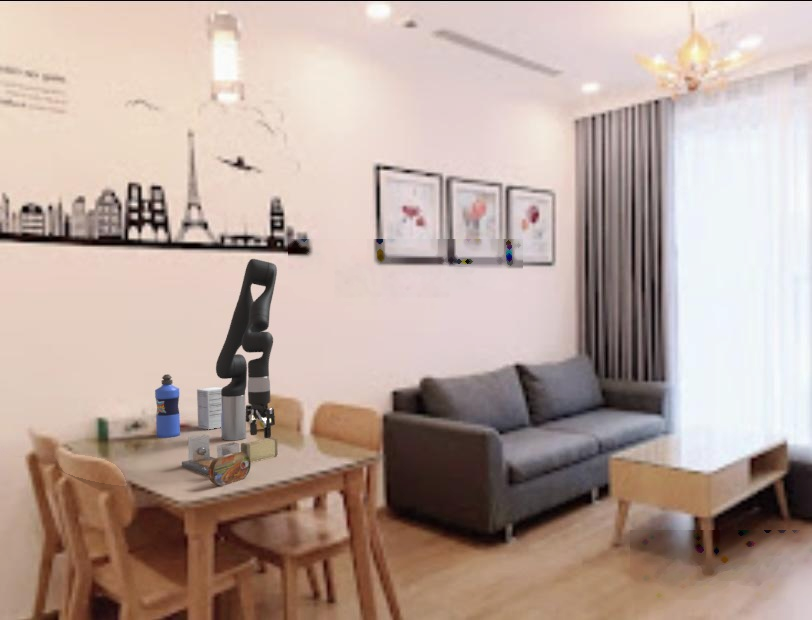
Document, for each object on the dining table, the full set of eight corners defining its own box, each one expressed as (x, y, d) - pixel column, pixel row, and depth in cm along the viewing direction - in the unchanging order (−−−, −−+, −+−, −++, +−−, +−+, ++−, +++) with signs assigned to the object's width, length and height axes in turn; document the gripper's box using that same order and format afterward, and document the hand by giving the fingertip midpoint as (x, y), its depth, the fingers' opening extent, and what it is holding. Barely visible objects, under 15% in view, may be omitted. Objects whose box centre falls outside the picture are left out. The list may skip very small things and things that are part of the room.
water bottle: (171, 432, 280) (169, 372, 280) (185, 434, 275) (183, 374, 274) (151, 436, 273) (149, 375, 272) (165, 438, 267) (163, 376, 267)
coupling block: (247, 463, 225) (247, 445, 225) (241, 461, 228) (240, 443, 228) (277, 456, 234) (277, 439, 234) (271, 454, 237) (270, 437, 237)
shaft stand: (181, 465, 223) (180, 437, 223) (208, 460, 230) (208, 432, 230) (219, 479, 205) (218, 448, 205) (247, 473, 212) (247, 443, 212)
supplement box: (228, 426, 290) (227, 388, 290) (208, 430, 283) (207, 390, 283) (216, 424, 297) (215, 386, 296) (197, 427, 290) (196, 388, 289)
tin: (214, 488, 196) (213, 460, 196) (206, 487, 197) (206, 459, 197) (251, 476, 208) (251, 449, 208) (244, 475, 210) (243, 448, 210)
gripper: (280, 389, 228) (281, 437, 229) (256, 386, 238) (258, 432, 239) (261, 392, 223) (262, 440, 223) (238, 389, 233) (239, 435, 233)
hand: (260, 436), depth 231 cm, fingers open, 8 cm apart
